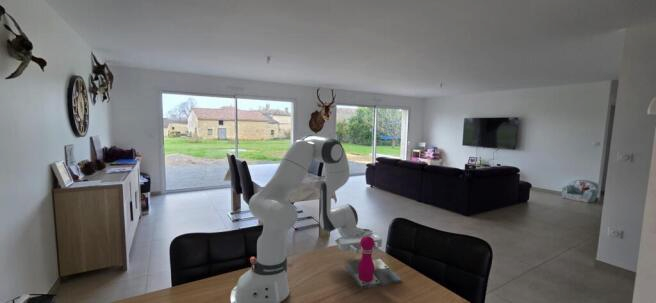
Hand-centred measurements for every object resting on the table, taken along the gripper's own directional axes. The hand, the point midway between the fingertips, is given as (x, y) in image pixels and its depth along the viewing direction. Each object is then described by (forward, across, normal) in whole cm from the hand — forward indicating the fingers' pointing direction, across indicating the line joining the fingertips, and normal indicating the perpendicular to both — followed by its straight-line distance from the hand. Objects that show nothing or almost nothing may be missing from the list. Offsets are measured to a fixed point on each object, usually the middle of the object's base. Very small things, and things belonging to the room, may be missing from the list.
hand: (367, 250), depth 118 cm
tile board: (-4, +5, +14) cm, 15 cm away
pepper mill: (0, 0, +12) cm, 13 cm away
